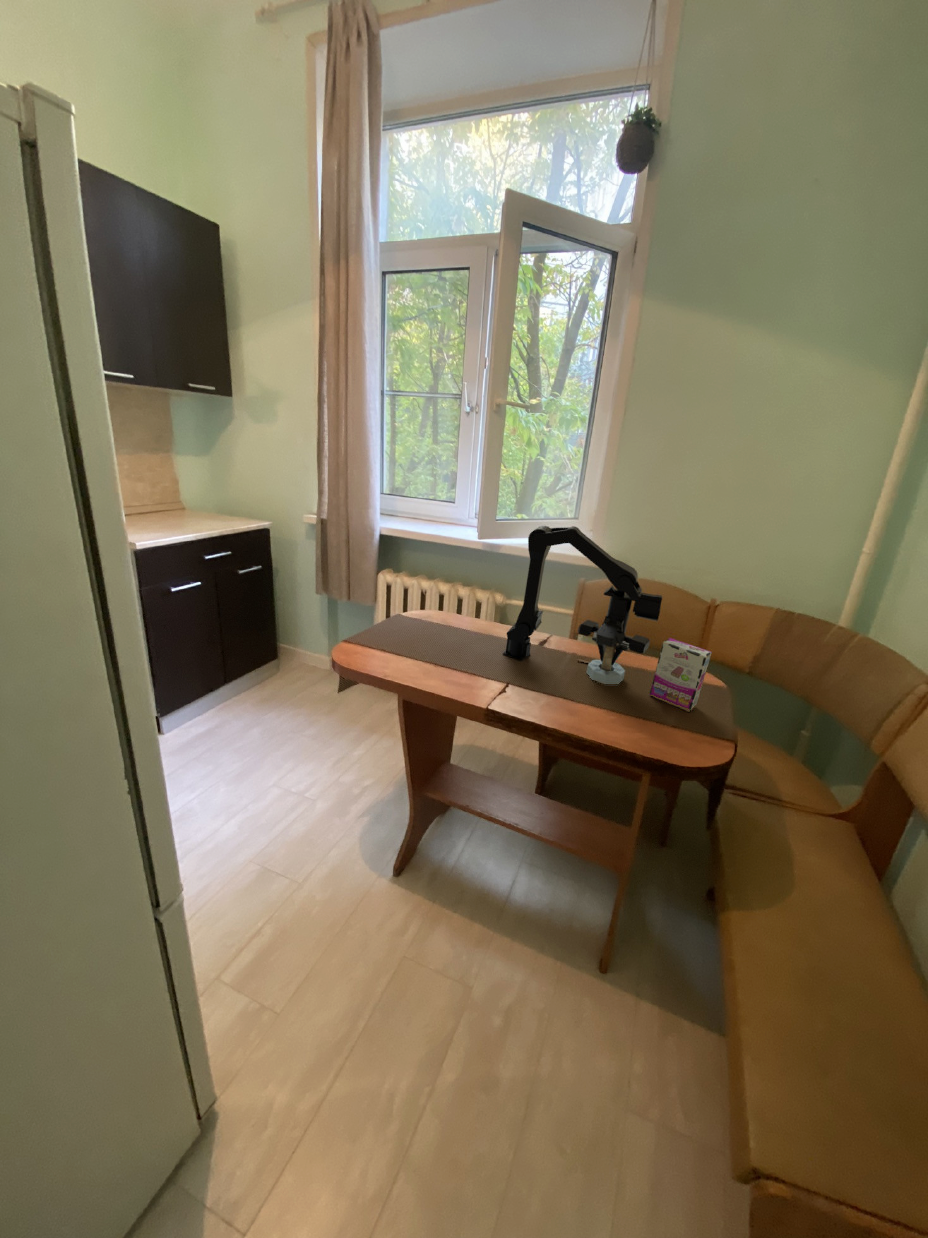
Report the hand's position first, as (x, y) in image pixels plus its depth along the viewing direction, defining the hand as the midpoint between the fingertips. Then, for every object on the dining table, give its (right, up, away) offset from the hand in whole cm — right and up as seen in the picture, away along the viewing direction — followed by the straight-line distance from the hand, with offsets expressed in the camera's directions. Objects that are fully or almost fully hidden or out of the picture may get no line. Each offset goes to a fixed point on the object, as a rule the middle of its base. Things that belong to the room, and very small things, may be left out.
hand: (607, 662), depth 138 cm
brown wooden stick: (-1, -2, +8) cm, 8 cm away
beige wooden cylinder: (0, -3, +1) cm, 3 cm away
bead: (0, -4, +2) cm, 5 cm away
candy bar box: (+15, -10, -8) cm, 20 cm away
